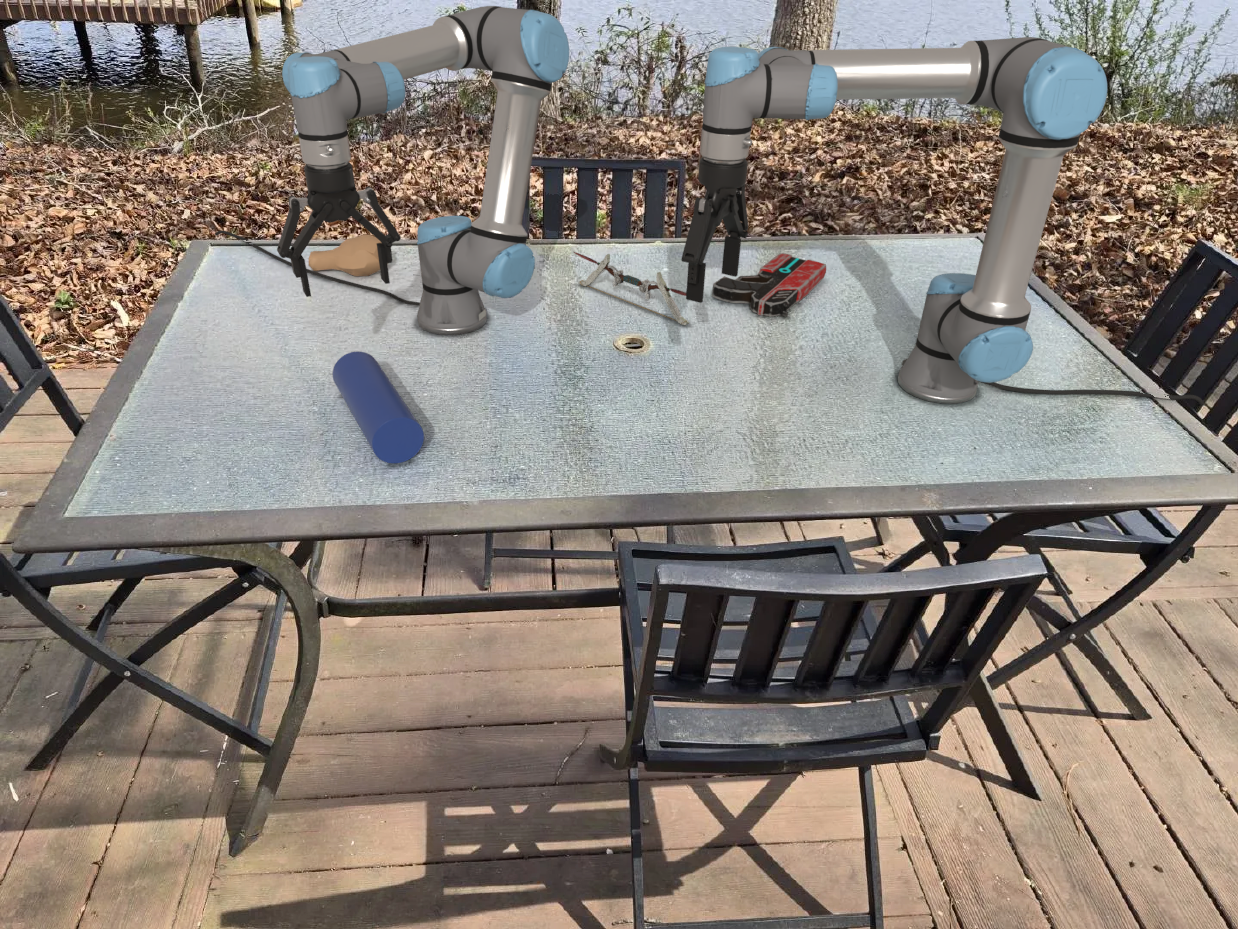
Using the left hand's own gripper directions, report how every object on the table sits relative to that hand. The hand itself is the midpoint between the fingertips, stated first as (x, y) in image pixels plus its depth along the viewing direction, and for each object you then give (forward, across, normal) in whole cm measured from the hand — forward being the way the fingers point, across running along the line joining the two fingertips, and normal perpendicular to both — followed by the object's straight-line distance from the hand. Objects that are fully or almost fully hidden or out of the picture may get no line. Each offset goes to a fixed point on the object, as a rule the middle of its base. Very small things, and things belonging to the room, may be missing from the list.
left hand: (347, 287), depth 153 cm
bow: (+23, +68, +19) cm, 75 cm away
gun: (+23, +103, +11) cm, 107 cm away
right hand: (-4, +53, -35) cm, 64 cm away
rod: (+23, 0, -9) cm, 25 cm away
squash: (+23, +14, +67) cm, 72 cm away
